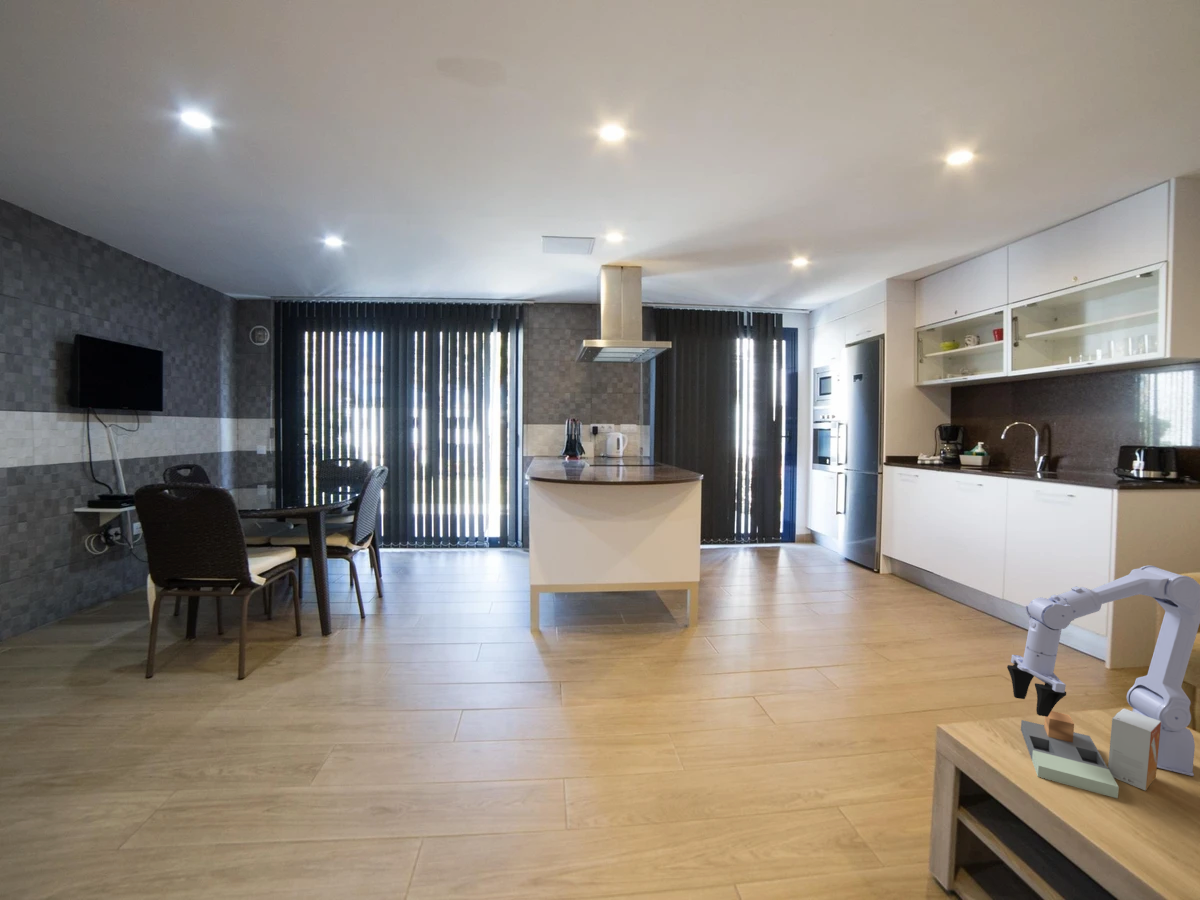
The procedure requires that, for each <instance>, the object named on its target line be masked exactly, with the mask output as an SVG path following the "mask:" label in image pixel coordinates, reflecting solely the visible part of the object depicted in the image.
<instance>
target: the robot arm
mask: <svg viewBox="0 0 1200 900" xmlns="http://www.w3.org/2000/svg"><path fill="white" fill-rule="evenodd" d="M1138 595H1142V596H1146V597H1151V598H1152V599H1154V600H1155V601H1156V602H1157V604H1158V605H1160V607H1162V609H1163V610H1164V615H1163V618H1162V623H1161V625H1160V630H1159V633H1158V636H1157V640H1156V643H1155V646H1154V650H1153V655H1152V658H1151V660H1150V664H1149V668H1148V671H1147V674H1146V675H1144V676H1139V677H1136V678H1135V681H1134V684H1133V685H1132V687H1130V688H1129V690H1128V691H1127V693H1126V702H1127V703H1128V705H1129V706H1130V707H1131V708H1132V711H1133V712H1136V713H1139V714H1142V715H1144V716H1147V717H1150V718H1153V719H1156V720H1159V721H1161V728H1160V739H1159V749H1158V759H1157V768H1158V769H1162V770H1166V771H1171V772H1175V773H1178V774H1182V775H1187V776H1191V777H1194V775H1195V774H1194V771H1193V770H1194V760H1195V750H1196V749H1195V747H1196V746H1195V744H1196V743H1195V738H1194V735H1193V733H1192V731H1191V730H1190V729H1189V728H1187V727H1188V726H1189V725H1190V724H1191V722H1192V721H1191V720H1192V714H1191V711H1190V707H1191V700H1190V698H1189V696H1188V695H1187V694H1186V692H1185V691H1184V689H1183V687H1182V684H1183V682H1184V678H1185V675H1186V671H1187V669H1188V666H1189V662H1190V658H1191V656H1192V651H1193V647H1194V644H1195V642H1196V641H1195V640H1196V637H1197V634H1198V631H1199V626H1200V584H1199V582H1198V581H1197V580H1195V579H1194V578H1193V577H1191V576H1187V575H1182V574H1179V573H1175V572H1172V571H1169V570H1166V569H1163V568H1160V567H1157V566H1155V565H1150V564H1149V565H1144V566H1141V567H1138V568H1134V569H1131V570H1130V573H1129V574H1127V575H1123V576H1121V577H1119V578H1117V579H1114V580H1112V581H1109V582H1107V583H1104V584H1102V585H1099V586H1096V587H1094V588H1092V589H1089V588H1088V587H1087V588H1086V587H1084V586H1081V587H1078V586H1073V587H1071V590H1068V591H1065V592H1063V593H1059V594H1052V595H1050V597H1048V598H1047V597H1043V596H1042V597H1035V598H1034V599H1032V600H1031V601H1030V602H1029V603H1028V605H1026V606H1025V612H1026V614H1027V616H1028V624H1029V625H1028V629H1027V630H1028V631H1027V637H1026V642H1025V648H1024V653H1023V656H1021V655H1017V654H1011V658H1010V663H1012V665H1011V664H1008V665H1007V667H1006V668H1007V670H1008V672H1009V675H1010V678H1011V683H1012V690H1013V691H1012V692H1013V697H1014V698H1015V699H1021V700H1025V699H1026V697H1027V695H1028V692H1029V687H1030V684H1031V682H1032V680H1033V679H1034V677H1035V678H1036V679H1038V680H1040V681H1041V682H1043V684H1041V683H1034V686H1035V691H1036V697H1037V699H1036V715H1037V716H1041V717H1045V716H1046V717H1048V716H1049V714H1050V712H1051V711H1053V709H1054V707H1055V706H1056V705H1057V704H1058V702H1060V700H1062V699H1063V698H1064V697H1065V696H1067V691H1065V690H1066V686H1067V684H1066V683H1064V682H1063V681H1062V680H1061V679H1060V678H1059V677H1058V676H1057V675H1056V674H1055V673H1054V671H1055V666H1056V660H1057V656H1058V650H1059V644H1060V640H1061V639H1060V638H1061V636H1062V635H1061V634H1062V630H1063V629H1067V628H1068V627H1069V625H1070V624H1071V623H1072V622H1073V621H1075V619H1079V618H1082V617H1085V616H1088V615H1091V614H1095V613H1097V612H1100V610H1101V609H1102V608H1101V607H1102V605H1103V604H1108V603H1110V602H1114V601H1119V600H1122V599H1126V598H1130V597H1134V596H1138Z"/></svg>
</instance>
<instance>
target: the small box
mask: <svg viewBox="0 0 1200 900" xmlns="http://www.w3.org/2000/svg"><path fill="white" fill-rule="evenodd" d="M1160 728H1161V721H1159V720H1156V719H1153V718H1150V717H1147V716H1144V715H1142V714H1139V713H1136V712H1133V710H1130V709H1127V708H1122V709H1121V710H1120V711H1118V712H1117V713H1115V715H1114V716H1113V717H1112V718H1111V730H1110V739H1109V741H1110V742H1109V754H1108V764H1107V767H1108V769H1109V771H1110V772H1111V774H1112V776H1113V778H1114V779H1115V780H1116V779H1117V780H1119V781H1121V782H1123V783H1126V784H1128V785H1130V786H1132V787H1135V788H1139V789H1141V790H1143V791H1147V790H1148V788H1149V786H1150V785H1151V784H1152V783H1153V782H1154V780H1155V779H1157V759H1158V749H1159V739H1160Z"/></svg>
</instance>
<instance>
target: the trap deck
mask: <svg viewBox="0 0 1200 900" xmlns="http://www.w3.org/2000/svg"><path fill="white" fill-rule="evenodd" d="M1020 731H1021V733H1022V736H1023V740H1024V742H1025V745H1026V747H1027V750H1028V753H1029V756H1030V759H1031V761H1032V764H1033V767H1034V770H1035V773H1036V775H1037V778H1040V777H1041V778H1040V779H1044V778H1045V780H1049V781H1051V780H1052V781H1053V782H1054V783H1055V782H1056V783H1060V784H1061V785H1062V784H1063V785H1067V786H1070V787H1073V788H1078V789H1081V790H1086V791H1089V792H1092V793H1096V794H1099V795H1104V796H1107V797H1111V798H1114V799H1118V798H1119V788H1120V787H1119V785H1118V783H1117V782H1116V779H1115V778H1114V777H1113V776H1112V774H1111V772H1110V771H1109V769H1108V764H1107V763H1106V762H1105V761H1104V759H1103V757H1102V754H1100V752H1099V750H1098V748H1097V746H1096V745H1095V743H1094V741H1093V740H1092V738H1091V736H1090V735H1087V734H1083V733H1079V732H1075V731H1074V733H1073V743H1072V742H1068V741H1064V740H1060V739H1056V738H1052V737H1048V735H1047V733H1046V730H1045V728H1044V724H1041V723H1040V724H1039V723H1036V722H1032V721H1027V720H1023V719H1021V722H1020Z"/></svg>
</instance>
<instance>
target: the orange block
mask: <svg viewBox="0 0 1200 900" xmlns="http://www.w3.org/2000/svg"><path fill="white" fill-rule="evenodd" d="M1043 725H1044V728H1045V730H1046V733H1047V735H1048V737H1052V738H1056V739H1060V740H1064V741H1068V742H1072V743H1073V733H1074V732H1075V722H1074V721H1073V719H1072V717H1071V715H1070V714H1067V713H1062V712H1057V711H1054V710H1052V711H1051V712H1050V714H1049V716H1048V717H1046V716H1044V724H1043Z"/></svg>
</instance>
